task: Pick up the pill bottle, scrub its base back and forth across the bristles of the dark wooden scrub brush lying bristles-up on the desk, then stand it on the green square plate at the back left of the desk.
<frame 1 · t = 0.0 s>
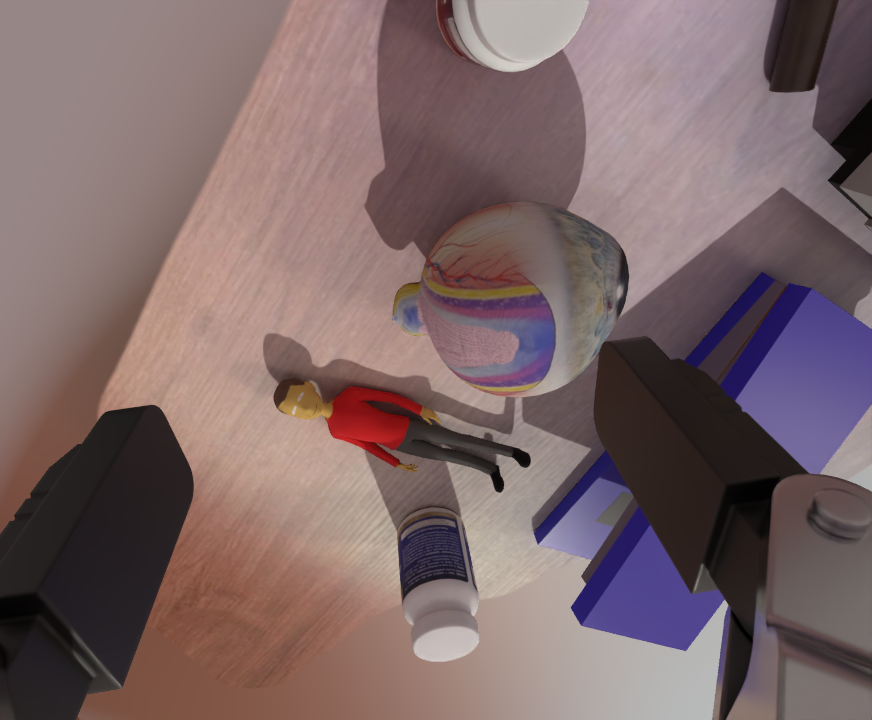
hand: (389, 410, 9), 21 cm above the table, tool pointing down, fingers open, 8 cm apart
pill bottle 2: (430, 525, 43), on the table
person figure: (400, 419, 37), on the table
anatomical model: (491, 263, 31), on the table
stapler: (679, 436, 41), on the table
pill bottle: (482, 7, 24), on the table
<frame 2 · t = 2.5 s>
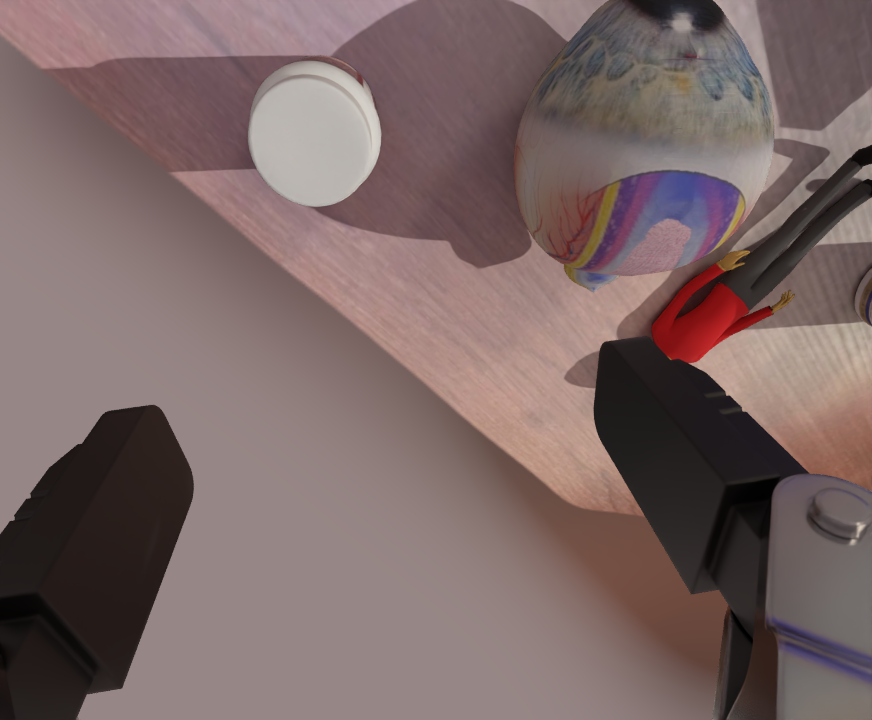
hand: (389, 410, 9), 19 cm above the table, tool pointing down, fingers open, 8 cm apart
person figure: (720, 283, 31), on the table
anatomical model: (584, 144, 26), on the table
pill bottle: (326, 114, 24), on the table
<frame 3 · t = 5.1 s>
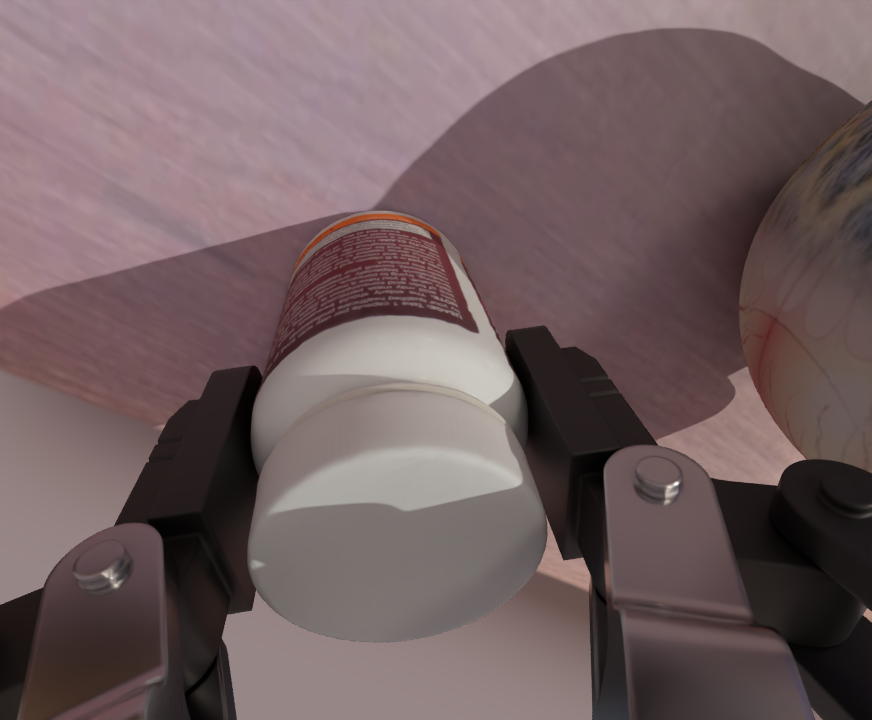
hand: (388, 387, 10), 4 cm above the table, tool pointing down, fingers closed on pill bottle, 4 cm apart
anatomical model: (831, 232, 15), on the table
pill bottle: (381, 291, 14), on the table, touching gripper
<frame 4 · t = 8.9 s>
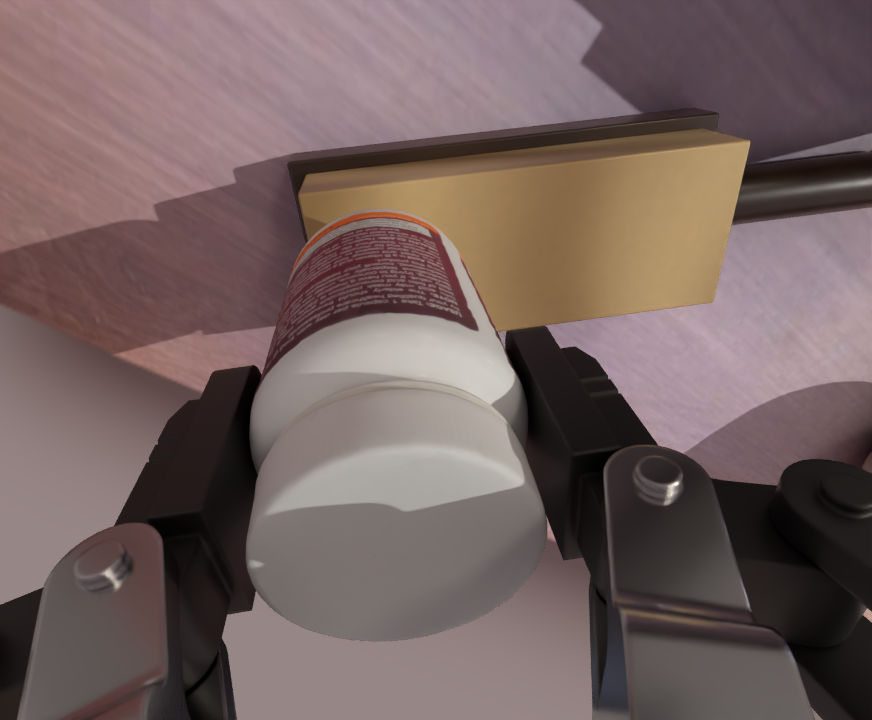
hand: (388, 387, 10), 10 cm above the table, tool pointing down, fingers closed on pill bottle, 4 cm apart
scrub brush: (499, 216, 19), on the table
pill bottle: (381, 290, 14), point 6 cm above the table, touching gripper
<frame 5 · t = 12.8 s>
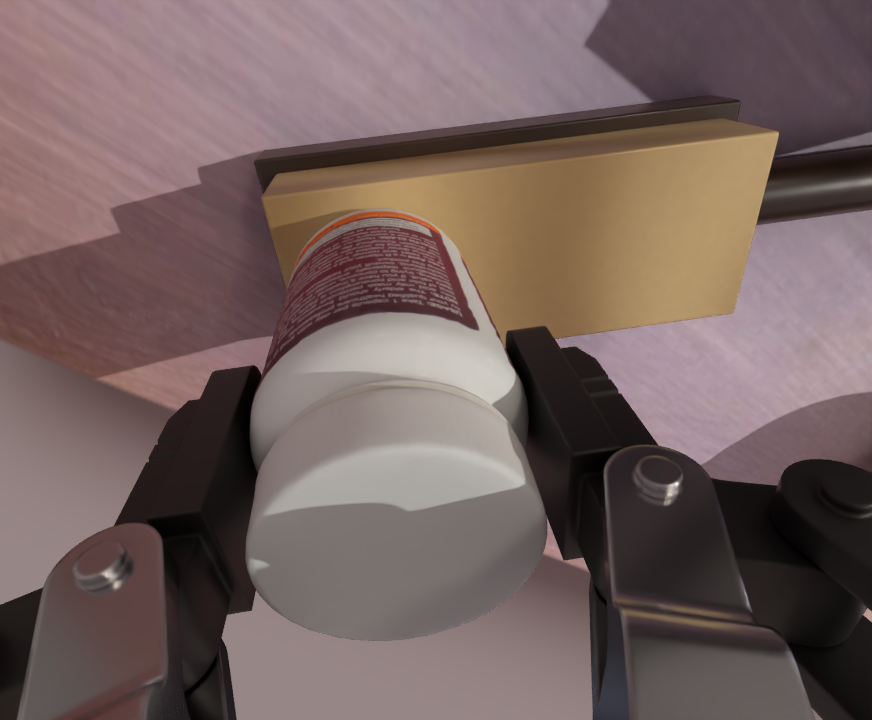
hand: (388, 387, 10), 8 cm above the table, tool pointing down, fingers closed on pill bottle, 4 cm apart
scrub brush: (495, 218, 17), on the table
pill bottle: (382, 290, 14), point 4 cm above the table, touching gripper
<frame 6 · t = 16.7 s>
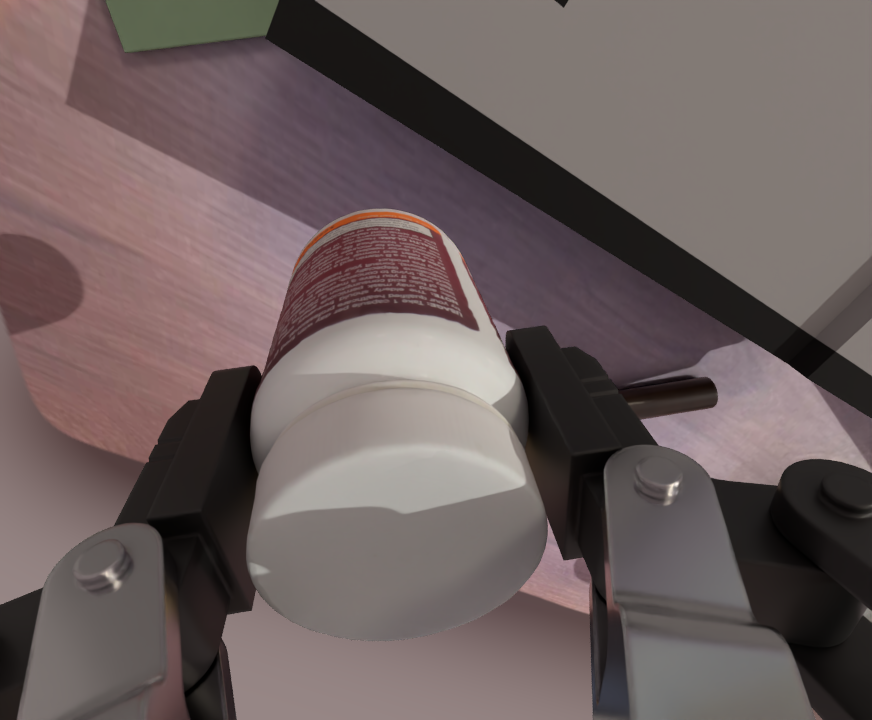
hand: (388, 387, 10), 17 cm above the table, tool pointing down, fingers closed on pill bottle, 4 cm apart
scrub brush: (473, 419, 32), on the table
pill bottle: (382, 290, 14), point 12 cm above the table, touching gripper
game console: (733, 19, 22), on the table
when the fingers open (5 cm above the table, at t = 20.6 s): pill bottle stays where it is, resting on green square plate.
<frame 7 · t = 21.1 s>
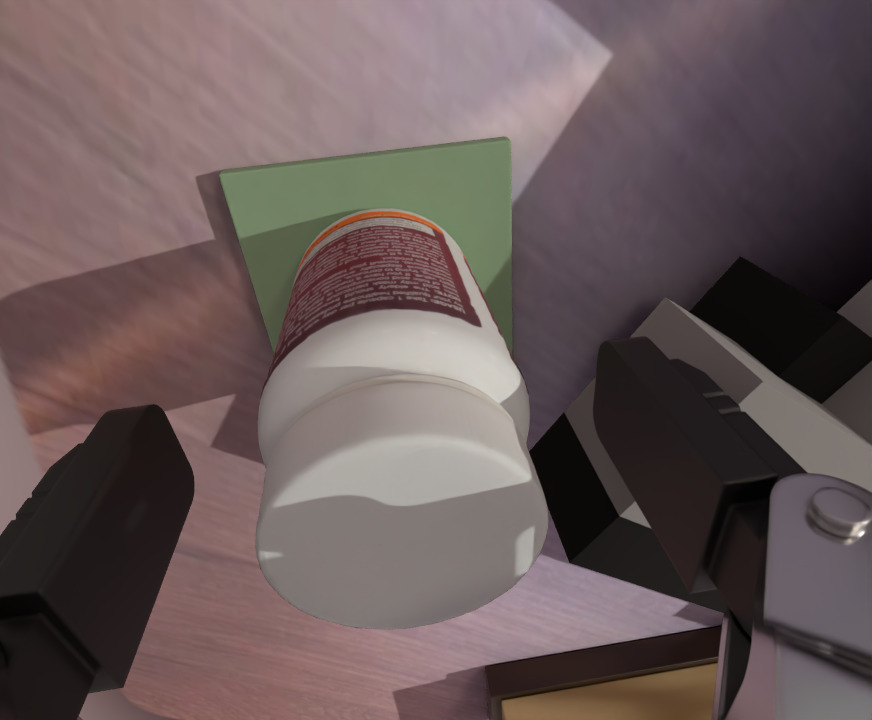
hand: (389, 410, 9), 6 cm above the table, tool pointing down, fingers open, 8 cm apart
green square plate: (386, 283, 14), on the table
scrub brush: (609, 672, 28), on the table
pill bottle: (385, 288, 14), resting on green square plate
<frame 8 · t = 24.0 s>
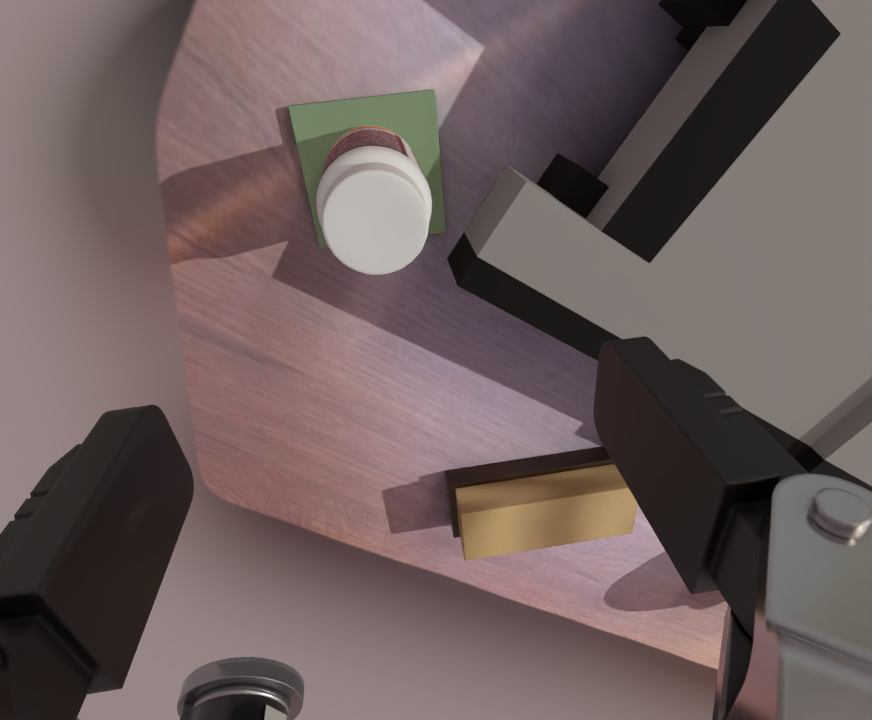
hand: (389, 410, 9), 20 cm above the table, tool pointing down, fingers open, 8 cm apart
green square plate: (373, 172, 26), on the table
scrub brush: (534, 484, 40), on the table
pill bottle: (372, 174, 26), resting on green square plate
game console: (753, 214, 30), on the table
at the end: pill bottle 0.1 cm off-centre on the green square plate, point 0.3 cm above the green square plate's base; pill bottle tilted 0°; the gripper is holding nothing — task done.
